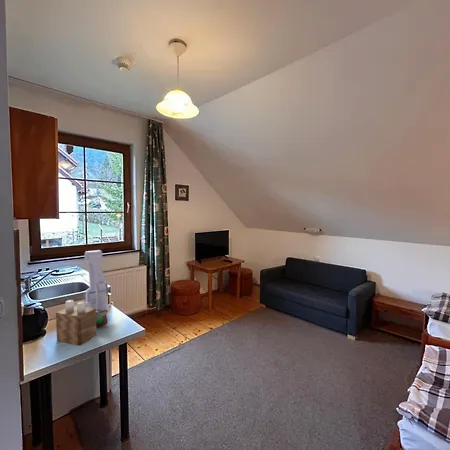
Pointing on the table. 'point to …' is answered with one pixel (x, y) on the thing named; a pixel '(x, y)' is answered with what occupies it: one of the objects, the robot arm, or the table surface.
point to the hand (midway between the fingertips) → (102, 322)
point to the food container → (101, 318)
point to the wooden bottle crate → (76, 326)
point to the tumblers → (79, 306)
